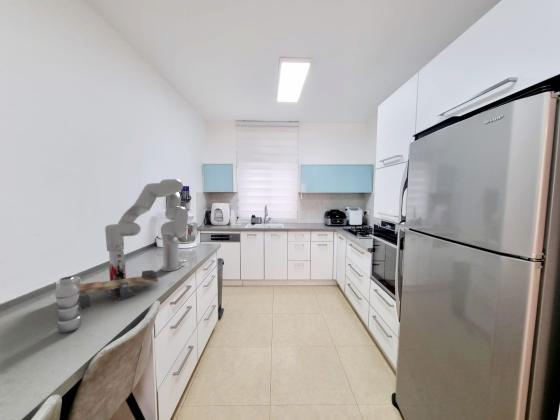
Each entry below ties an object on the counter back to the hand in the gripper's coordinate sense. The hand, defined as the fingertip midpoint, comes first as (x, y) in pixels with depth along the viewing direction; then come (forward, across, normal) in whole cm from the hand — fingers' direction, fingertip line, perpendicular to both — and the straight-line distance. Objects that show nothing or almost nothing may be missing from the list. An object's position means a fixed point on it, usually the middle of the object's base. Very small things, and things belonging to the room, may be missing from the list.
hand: (118, 278), depth 119 cm
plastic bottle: (+3, -32, +24) cm, 40 cm away
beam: (-2, -14, +3) cm, 14 cm away
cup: (+4, -1, +19) cm, 19 cm away
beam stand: (+4, -14, +8) cm, 17 cm away
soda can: (+3, 0, 0) cm, 4 cm away
